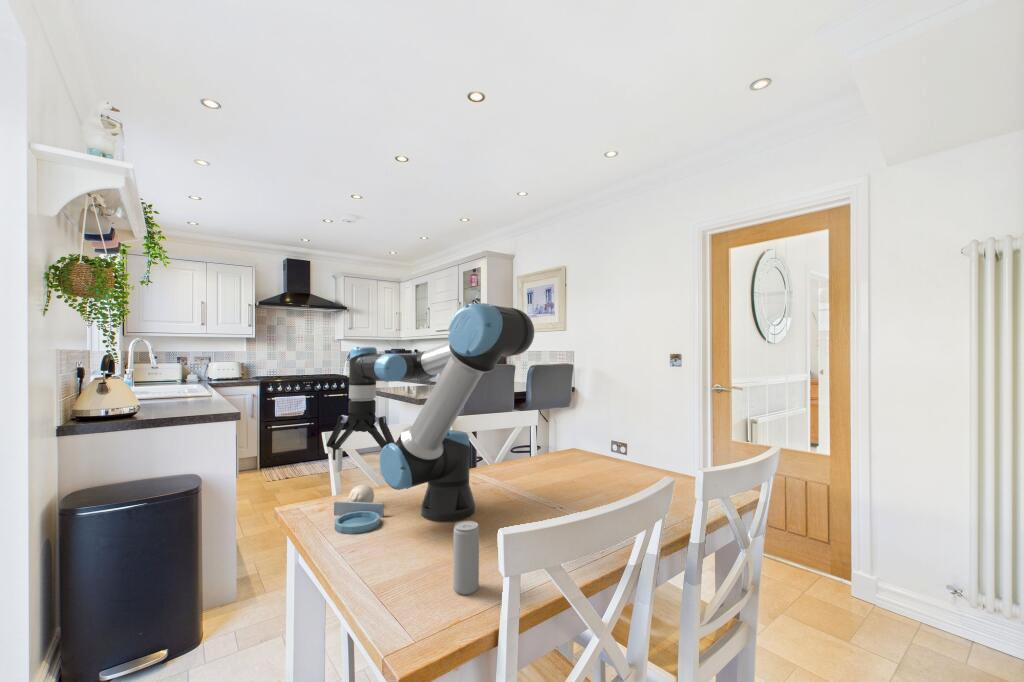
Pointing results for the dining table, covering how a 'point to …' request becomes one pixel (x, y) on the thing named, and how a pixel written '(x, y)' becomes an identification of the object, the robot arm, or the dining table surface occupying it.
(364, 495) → the cream creased ball
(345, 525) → the saucer
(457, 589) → the beverage can
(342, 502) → the panel
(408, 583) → the dining table surface
